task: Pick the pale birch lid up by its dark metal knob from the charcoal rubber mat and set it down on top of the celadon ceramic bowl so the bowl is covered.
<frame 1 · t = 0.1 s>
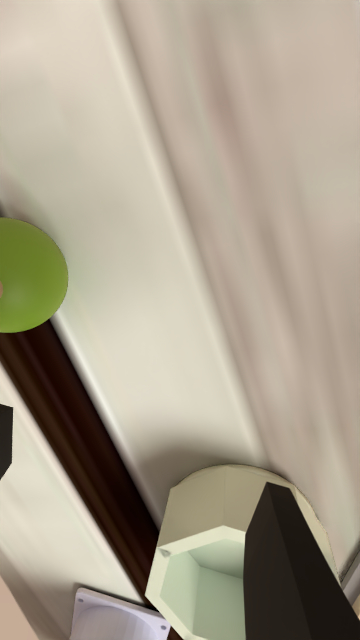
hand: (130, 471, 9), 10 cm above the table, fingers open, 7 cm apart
snail figurine: (49, 263, 19), on the table
bowl: (239, 524, 22), on the table
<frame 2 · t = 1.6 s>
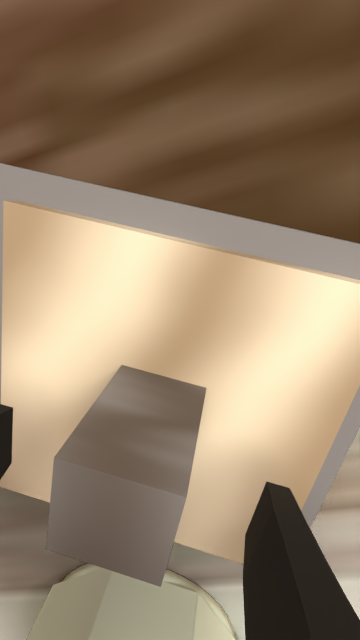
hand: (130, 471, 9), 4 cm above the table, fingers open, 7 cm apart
lid: (160, 399, 13), resting on mat
bowl: (142, 625, 18), on the table
mat: (163, 392, 13), on the table
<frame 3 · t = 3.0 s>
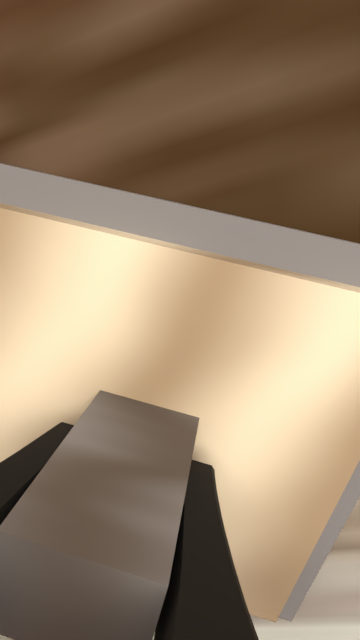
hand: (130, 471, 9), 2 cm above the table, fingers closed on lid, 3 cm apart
lid: (147, 427, 11), resting on mat, touching gripper
mat: (151, 418, 11), on the table
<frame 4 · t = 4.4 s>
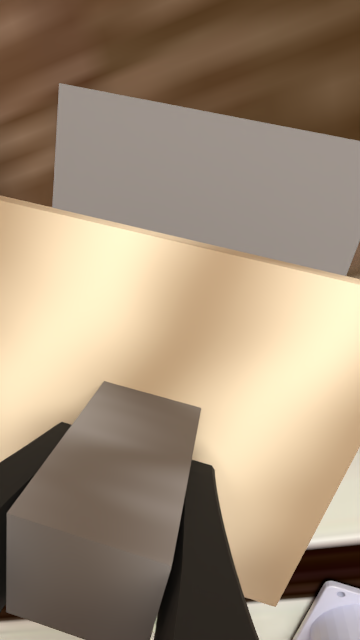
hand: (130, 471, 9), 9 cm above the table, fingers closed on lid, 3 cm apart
lid: (150, 417, 11), point 7 cm above the table, touching gripper
mat: (187, 276, 17), on the table
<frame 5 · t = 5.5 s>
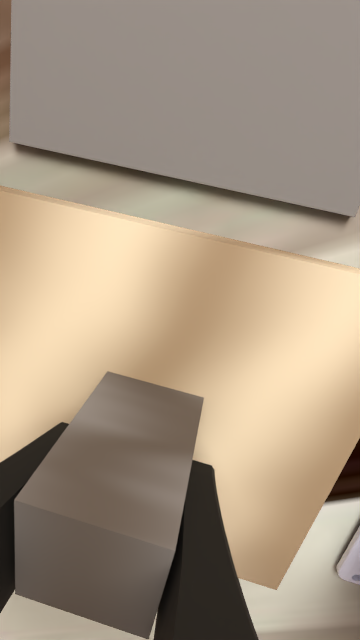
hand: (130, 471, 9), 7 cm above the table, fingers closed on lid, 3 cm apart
lid: (153, 407, 11), point 5 cm above the table, touching gripper
when the fingers open (7 cm above the table, at t = 6.1 s): lid stays where it is, resting on bowl.
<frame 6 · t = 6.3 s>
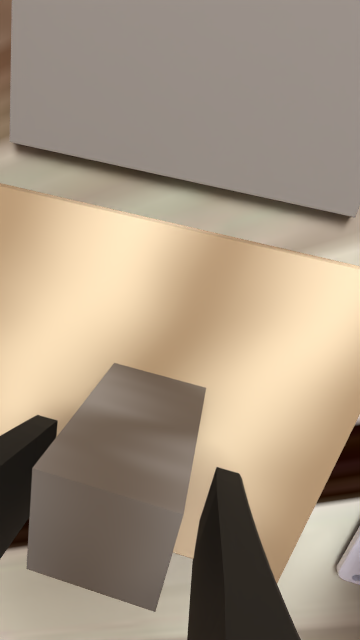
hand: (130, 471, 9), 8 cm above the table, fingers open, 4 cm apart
lid: (157, 400, 12), point 5 cm above the table, touching bowl
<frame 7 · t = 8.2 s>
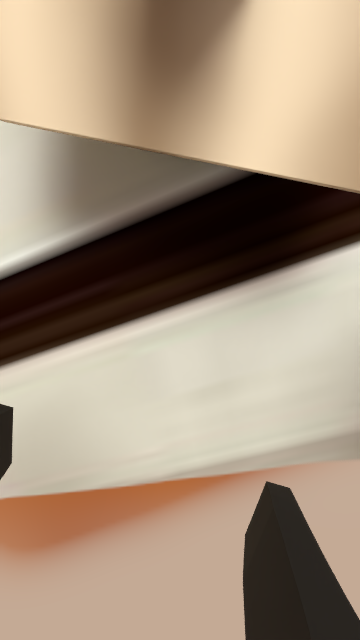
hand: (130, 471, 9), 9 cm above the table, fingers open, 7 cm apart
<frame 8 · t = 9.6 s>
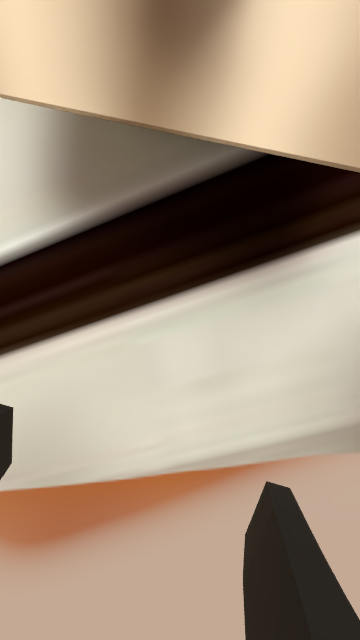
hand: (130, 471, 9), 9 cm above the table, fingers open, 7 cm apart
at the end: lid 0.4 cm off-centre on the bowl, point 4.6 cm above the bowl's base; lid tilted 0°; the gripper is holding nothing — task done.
